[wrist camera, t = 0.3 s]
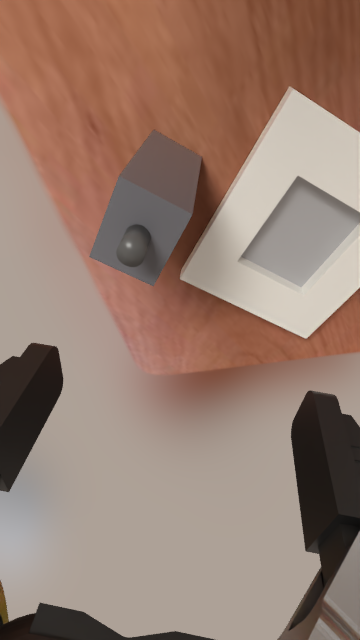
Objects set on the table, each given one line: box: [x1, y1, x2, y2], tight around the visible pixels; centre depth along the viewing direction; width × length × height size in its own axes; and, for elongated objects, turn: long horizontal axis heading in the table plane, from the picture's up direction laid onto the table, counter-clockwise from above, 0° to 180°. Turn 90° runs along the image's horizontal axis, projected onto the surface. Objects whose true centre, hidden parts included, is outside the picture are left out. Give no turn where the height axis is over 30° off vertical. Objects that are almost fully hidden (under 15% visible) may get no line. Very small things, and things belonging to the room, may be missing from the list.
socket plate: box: [180, 86, 360, 339], centre depth 28 cm, size 16×14×2 cm
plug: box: [89, 130, 202, 286], centre depth 22 cm, size 5×4×13 cm
